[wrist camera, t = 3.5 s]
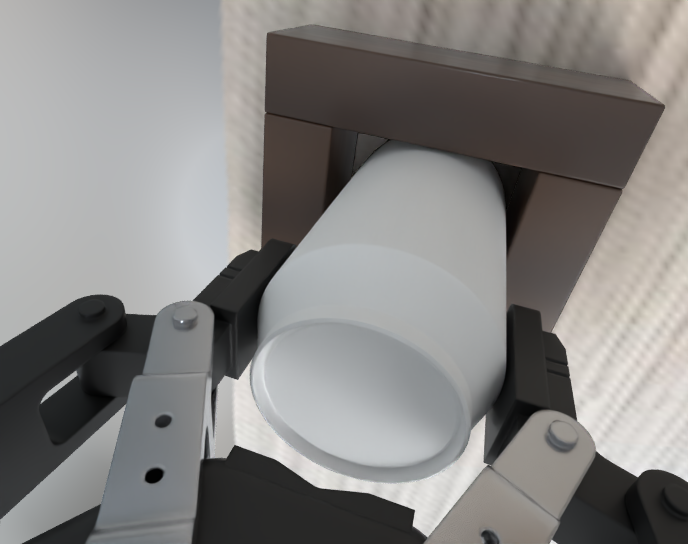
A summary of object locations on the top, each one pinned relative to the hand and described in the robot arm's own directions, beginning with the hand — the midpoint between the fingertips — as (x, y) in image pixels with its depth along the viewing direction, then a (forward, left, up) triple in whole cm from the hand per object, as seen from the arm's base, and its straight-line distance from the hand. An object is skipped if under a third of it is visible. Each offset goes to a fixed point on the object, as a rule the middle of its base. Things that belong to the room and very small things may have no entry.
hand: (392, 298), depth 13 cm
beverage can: (0, 0, -8) cm, 8 cm away
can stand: (0, 0, -8) cm, 8 cm away
